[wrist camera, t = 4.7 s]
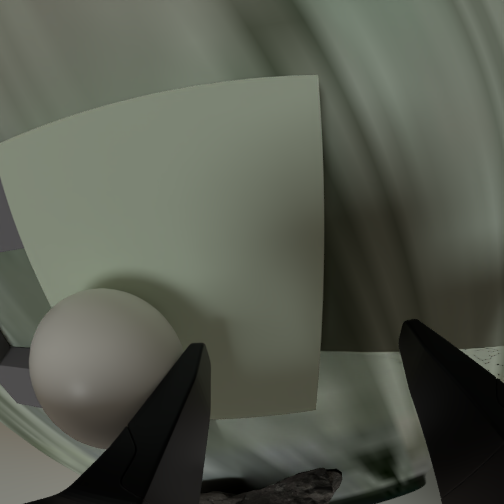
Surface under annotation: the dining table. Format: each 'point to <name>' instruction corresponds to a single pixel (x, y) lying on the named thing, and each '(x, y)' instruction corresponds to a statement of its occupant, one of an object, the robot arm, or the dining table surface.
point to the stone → (285, 490)
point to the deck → (186, 227)
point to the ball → (99, 362)
